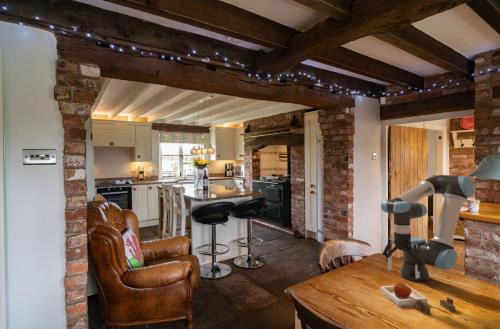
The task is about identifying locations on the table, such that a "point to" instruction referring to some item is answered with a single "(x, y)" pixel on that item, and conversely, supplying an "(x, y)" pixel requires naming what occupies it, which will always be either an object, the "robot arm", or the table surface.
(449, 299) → the block
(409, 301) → the dish
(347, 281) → the table surface
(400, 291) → the fruit
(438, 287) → the table surface
